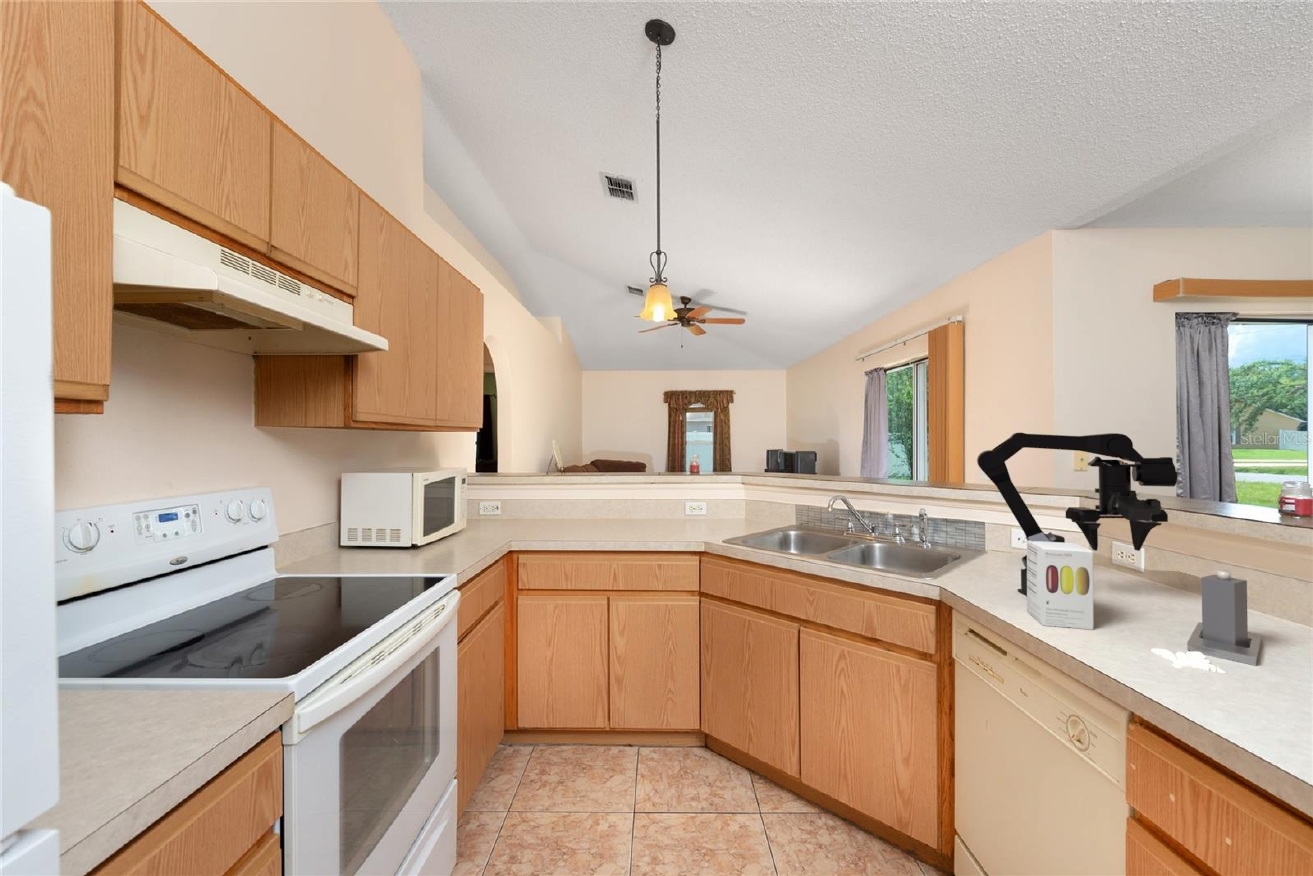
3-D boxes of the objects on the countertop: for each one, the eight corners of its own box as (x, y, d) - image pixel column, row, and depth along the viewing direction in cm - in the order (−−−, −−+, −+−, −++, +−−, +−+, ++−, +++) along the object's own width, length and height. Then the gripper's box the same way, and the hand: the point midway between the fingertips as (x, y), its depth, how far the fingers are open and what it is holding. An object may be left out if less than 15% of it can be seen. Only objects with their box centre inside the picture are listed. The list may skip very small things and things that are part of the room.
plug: (1202, 643, 99) (1201, 569, 99) (1215, 640, 100) (1213, 567, 100) (1235, 652, 95) (1234, 575, 94) (1247, 648, 96) (1246, 572, 96)
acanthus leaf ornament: (1150, 655, 96) (1150, 645, 96) (1196, 659, 94) (1196, 649, 94) (1176, 672, 89) (1176, 662, 89) (1227, 677, 87) (1227, 666, 87)
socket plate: (1255, 665, 89) (1255, 654, 89) (1187, 650, 96) (1187, 639, 96) (1261, 641, 99) (1261, 631, 99) (1198, 629, 106) (1198, 619, 106)
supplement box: (1042, 626, 109) (1040, 548, 109) (1025, 611, 118) (1024, 539, 118) (1096, 630, 106) (1094, 550, 106) (1075, 615, 115) (1073, 541, 115)
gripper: (1096, 489, 115) (1097, 558, 115) (1189, 488, 112) (1190, 558, 112) (1063, 484, 126) (1064, 547, 126) (1147, 483, 123) (1148, 547, 123)
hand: (1115, 550), depth 121 cm, fingers open, 9 cm apart
